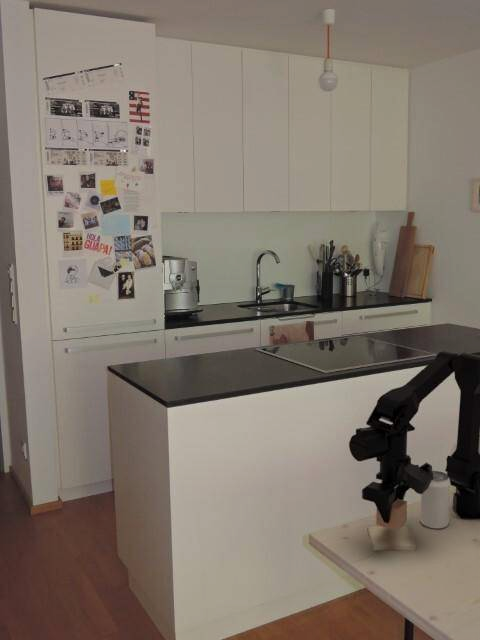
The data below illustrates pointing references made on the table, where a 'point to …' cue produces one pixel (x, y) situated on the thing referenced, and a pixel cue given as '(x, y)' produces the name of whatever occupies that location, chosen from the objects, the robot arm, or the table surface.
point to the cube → (394, 516)
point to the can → (436, 502)
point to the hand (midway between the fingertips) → (391, 518)
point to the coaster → (390, 538)
